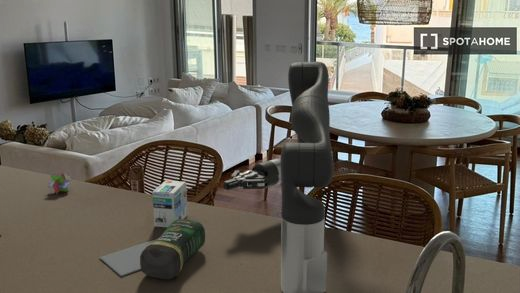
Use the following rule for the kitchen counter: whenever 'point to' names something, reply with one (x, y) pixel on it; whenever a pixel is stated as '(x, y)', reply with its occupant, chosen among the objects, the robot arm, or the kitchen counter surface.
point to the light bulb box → (169, 203)
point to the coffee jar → (172, 249)
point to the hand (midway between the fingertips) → (224, 186)
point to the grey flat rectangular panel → (126, 259)
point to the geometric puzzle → (60, 183)
